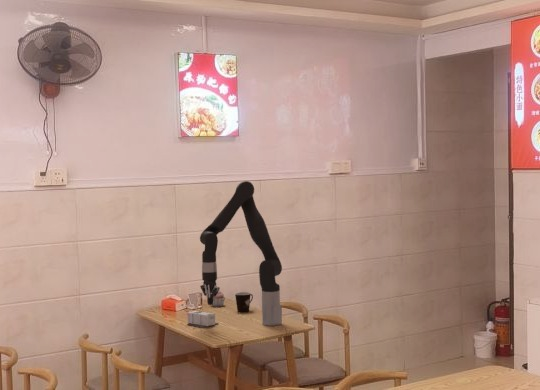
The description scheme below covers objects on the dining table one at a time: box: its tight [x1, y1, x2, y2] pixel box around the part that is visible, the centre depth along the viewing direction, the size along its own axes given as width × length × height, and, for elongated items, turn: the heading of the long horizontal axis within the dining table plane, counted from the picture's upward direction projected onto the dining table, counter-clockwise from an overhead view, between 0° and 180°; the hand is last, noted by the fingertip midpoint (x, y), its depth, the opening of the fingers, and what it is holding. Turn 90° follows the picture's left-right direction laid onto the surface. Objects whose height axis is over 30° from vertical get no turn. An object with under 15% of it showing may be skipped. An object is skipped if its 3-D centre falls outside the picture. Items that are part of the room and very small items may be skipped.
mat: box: [187, 322, 220, 329], centre depth 361 cm, size 12×11×1 cm
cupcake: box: [211, 289, 226, 308], centre depth 409 cm, size 9×9×10 cm
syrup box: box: [187, 310, 216, 327], centre depth 360 cm, size 6×6×14 cm
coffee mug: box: [234, 291, 254, 314], centre depth 392 cm, size 12×9×10 cm
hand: (210, 304), depth 356 cm, fingers closed
